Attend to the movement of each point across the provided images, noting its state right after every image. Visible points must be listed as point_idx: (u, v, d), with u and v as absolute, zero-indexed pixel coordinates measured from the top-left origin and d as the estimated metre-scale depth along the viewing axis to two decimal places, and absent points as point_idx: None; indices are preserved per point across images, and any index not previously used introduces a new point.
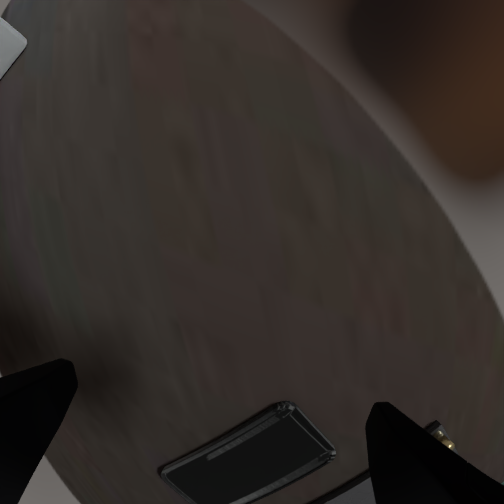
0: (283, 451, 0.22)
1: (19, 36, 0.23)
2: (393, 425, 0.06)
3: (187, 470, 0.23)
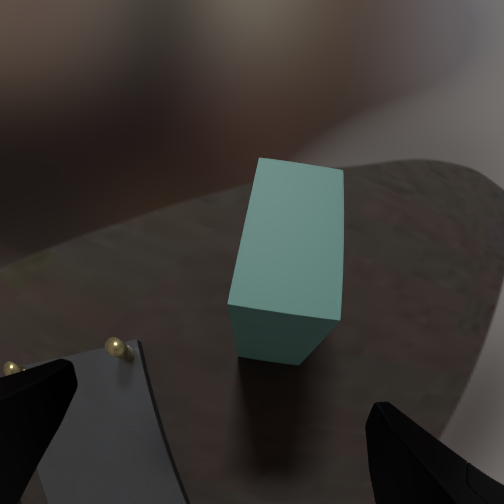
0: None
1: None
2: (393, 425, 0.06)
3: None
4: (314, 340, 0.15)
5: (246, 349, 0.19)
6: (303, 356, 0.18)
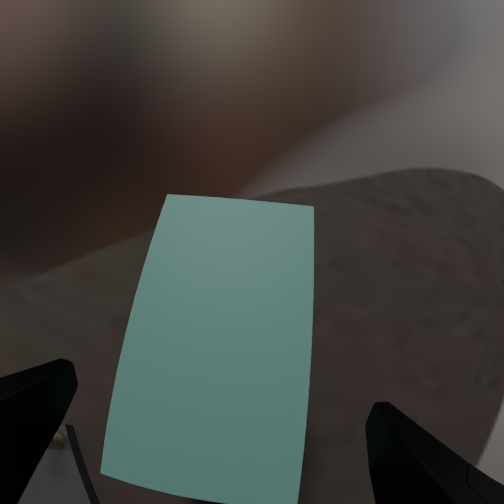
0: None
1: None
2: (393, 425, 0.06)
3: None
4: None
5: None
6: None
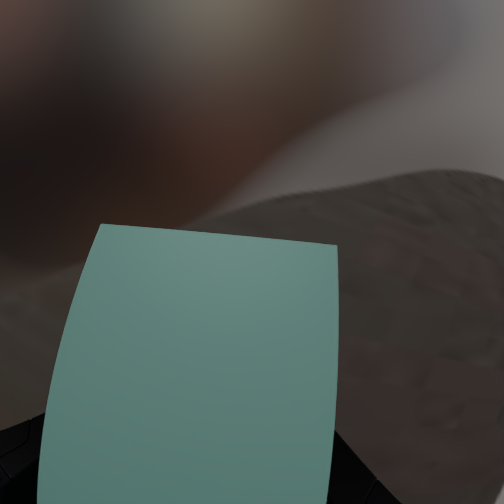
0: None
1: None
2: None
3: None
4: None
5: None
6: None
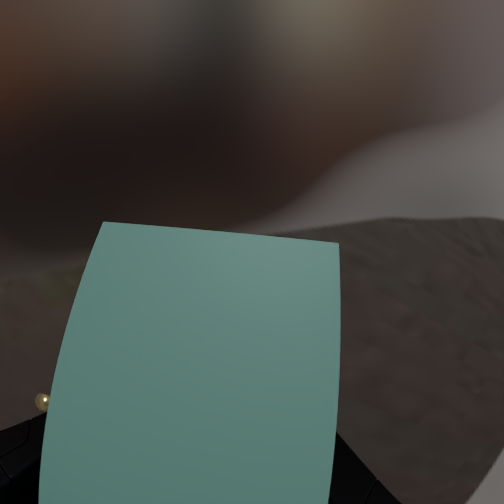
0: None
1: None
2: None
3: None
4: None
5: None
6: None
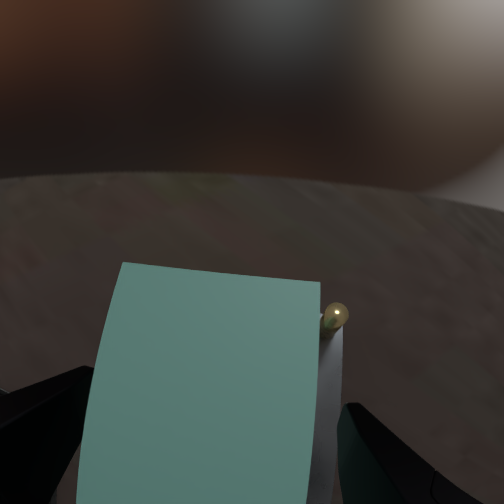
0: None
1: None
2: (359, 427, 0.06)
3: None
4: None
5: None
6: None
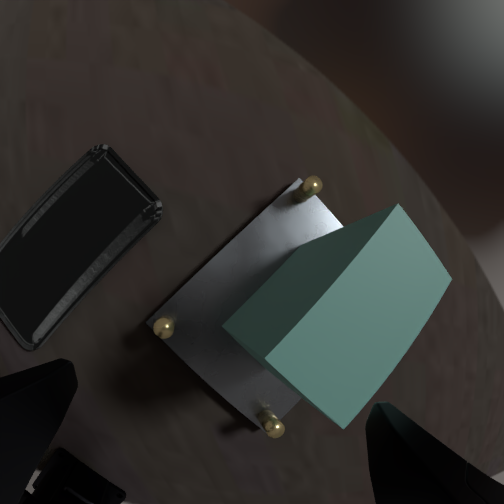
0: (99, 207, 0.20)
1: None
2: (393, 425, 0.06)
3: (3, 260, 0.18)
4: (304, 399, 0.13)
5: (236, 339, 0.18)
6: (279, 379, 0.17)
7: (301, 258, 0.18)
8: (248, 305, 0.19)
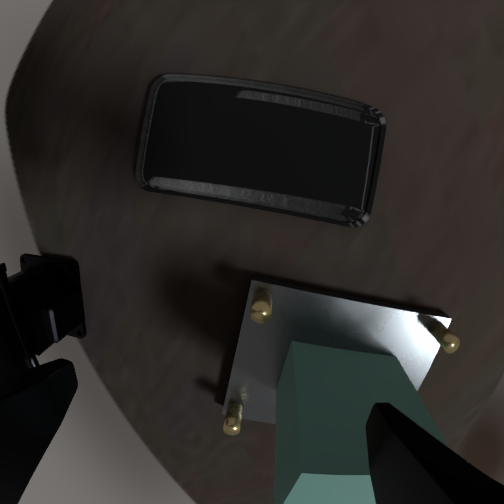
0: (324, 159, 0.18)
1: None
2: (393, 425, 0.06)
3: (195, 92, 0.17)
4: (276, 465, 0.14)
5: (290, 374, 0.18)
6: (276, 419, 0.18)
7: (386, 382, 0.17)
8: (323, 359, 0.19)
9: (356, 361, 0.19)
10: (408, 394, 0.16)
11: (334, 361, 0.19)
